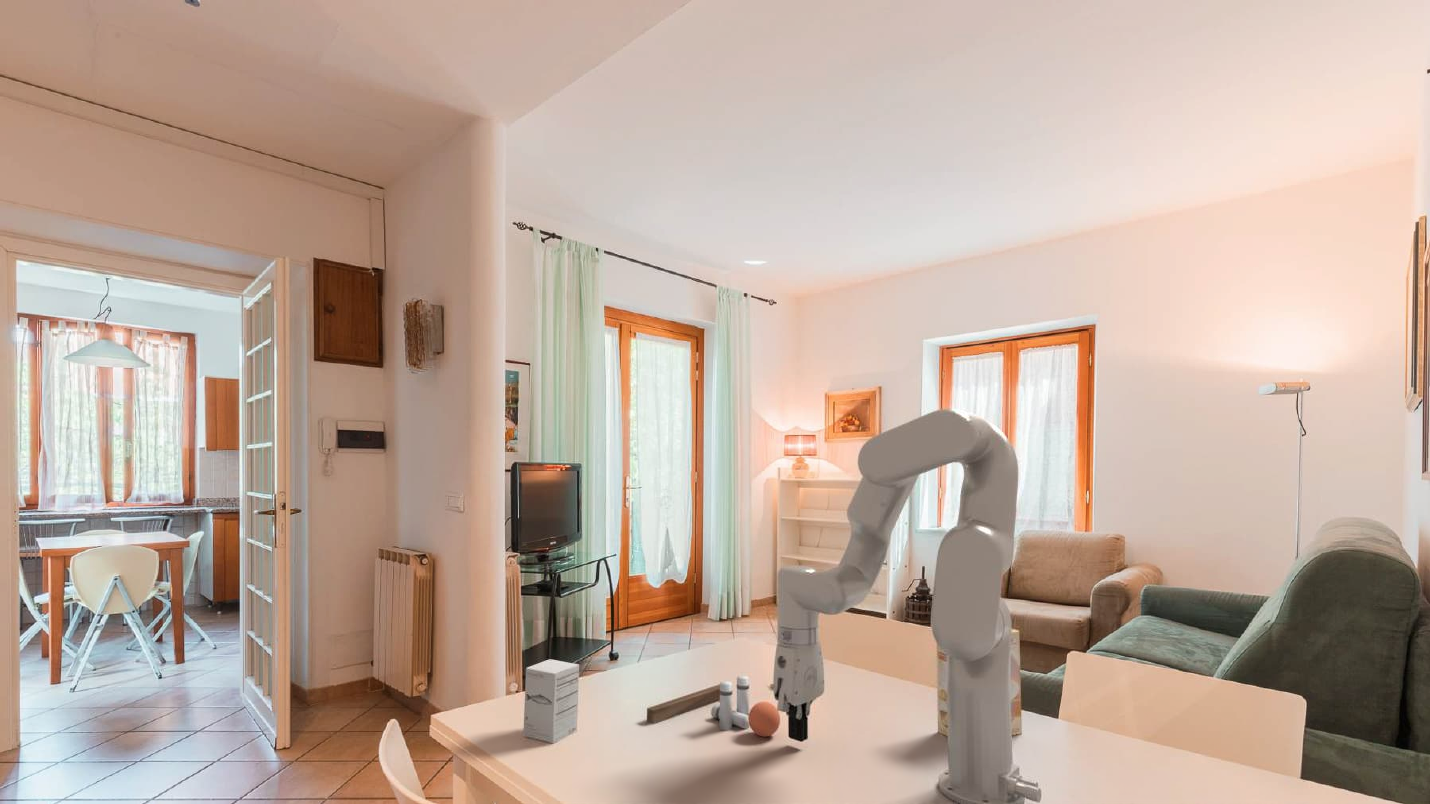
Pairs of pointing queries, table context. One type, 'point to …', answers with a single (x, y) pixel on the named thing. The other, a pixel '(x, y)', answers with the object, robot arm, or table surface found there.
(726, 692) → the pin
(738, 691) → the pin
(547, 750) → the table surface
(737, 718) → the front pin
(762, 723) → the ball
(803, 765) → the table surface
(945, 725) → the coffeecake box
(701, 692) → the back wall
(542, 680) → the supplement box
